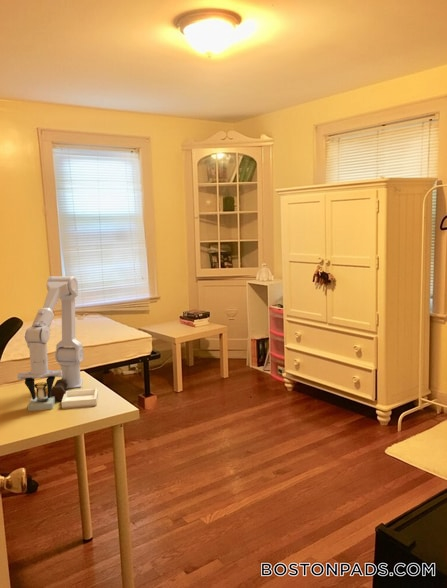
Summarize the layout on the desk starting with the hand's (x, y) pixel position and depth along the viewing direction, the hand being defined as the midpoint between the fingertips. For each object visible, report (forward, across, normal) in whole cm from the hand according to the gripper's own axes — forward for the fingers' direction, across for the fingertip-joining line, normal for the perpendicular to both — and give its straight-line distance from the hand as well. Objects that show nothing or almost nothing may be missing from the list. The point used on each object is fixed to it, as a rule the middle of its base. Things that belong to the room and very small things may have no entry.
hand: (41, 397), depth 172 cm
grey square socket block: (+3, 0, 0) cm, 3 cm away
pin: (+3, 0, 0) cm, 3 cm away
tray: (+3, +13, +1) cm, 13 cm away
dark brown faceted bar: (+3, +5, +11) cm, 12 cm away
